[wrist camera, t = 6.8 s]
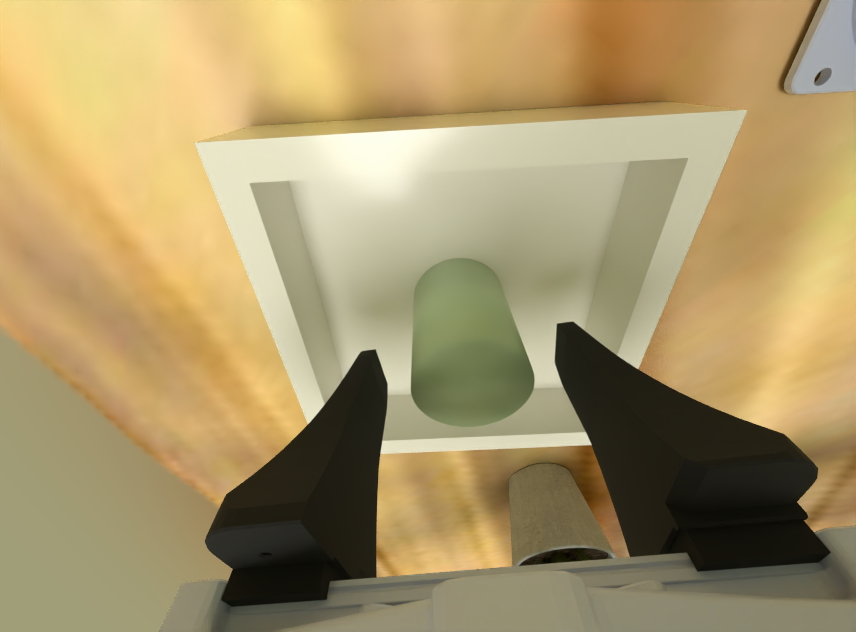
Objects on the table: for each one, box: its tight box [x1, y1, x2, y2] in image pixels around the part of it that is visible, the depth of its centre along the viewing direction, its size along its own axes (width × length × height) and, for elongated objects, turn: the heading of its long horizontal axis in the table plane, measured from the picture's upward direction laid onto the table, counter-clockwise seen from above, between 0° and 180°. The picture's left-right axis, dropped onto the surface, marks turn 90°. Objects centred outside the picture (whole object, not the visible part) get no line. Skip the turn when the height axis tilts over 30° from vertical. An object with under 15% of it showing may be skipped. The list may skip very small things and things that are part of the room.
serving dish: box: [195, 101, 747, 454], centre depth 16 cm, size 16×16×4 cm
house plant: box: [509, 463, 617, 567], centre depth 23 cm, size 14×14×16 cm
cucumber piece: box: [411, 258, 535, 427], centre depth 15 cm, size 4×4×6 cm
